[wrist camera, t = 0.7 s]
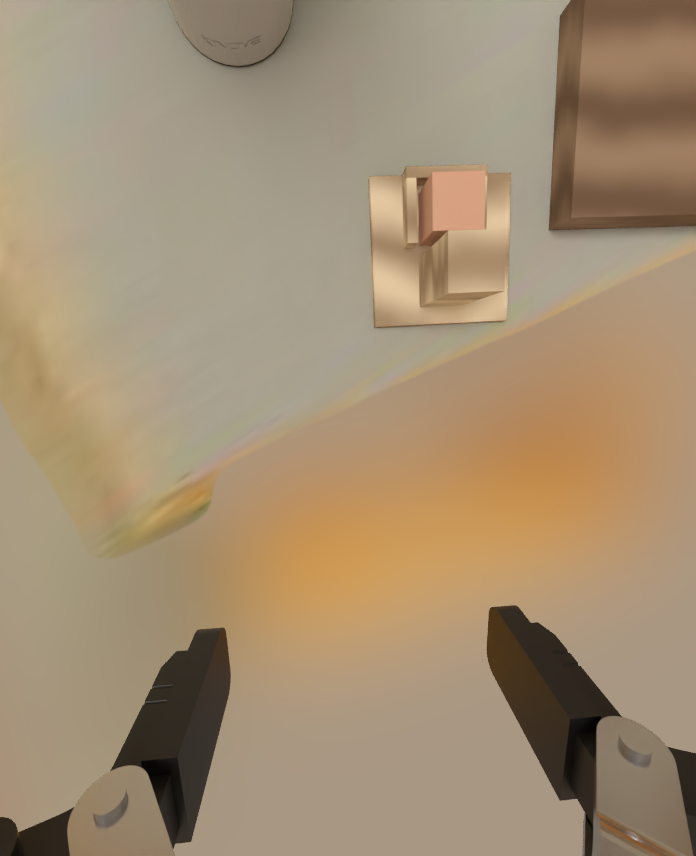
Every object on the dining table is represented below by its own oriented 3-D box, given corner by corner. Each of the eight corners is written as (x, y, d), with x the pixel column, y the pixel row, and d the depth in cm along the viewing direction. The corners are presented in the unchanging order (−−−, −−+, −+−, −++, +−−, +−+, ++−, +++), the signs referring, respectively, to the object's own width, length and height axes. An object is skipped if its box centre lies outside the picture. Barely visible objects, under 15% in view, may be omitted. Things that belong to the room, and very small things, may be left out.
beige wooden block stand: (367, 182, 32) (385, 120, 24) (504, 179, 33) (569, 117, 24) (373, 327, 34) (391, 318, 26) (500, 321, 35) (558, 310, 27)
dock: (560, 15, 30) (586, -23, 27) (744, 17, 31) (789, -20, 28) (549, 229, 33) (571, 217, 30) (717, 225, 34) (755, 212, 31)
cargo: (418, 194, 31) (432, 171, 27) (464, 193, 32) (485, 170, 28) (419, 245, 32) (432, 230, 28) (464, 244, 32) (484, 229, 29)
